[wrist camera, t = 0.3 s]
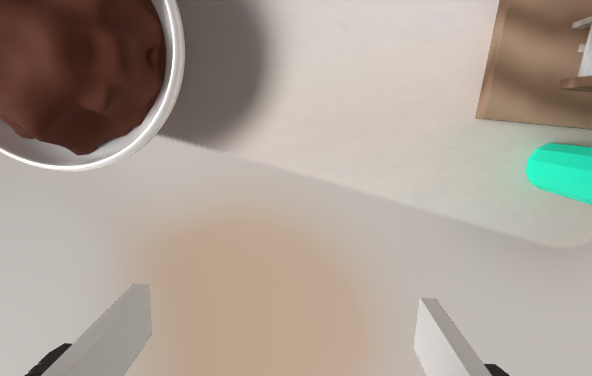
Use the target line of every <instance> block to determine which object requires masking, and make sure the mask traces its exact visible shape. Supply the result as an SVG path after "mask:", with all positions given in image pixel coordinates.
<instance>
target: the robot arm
mask: <svg viewBox="0 0 592 376" xmlns="http://www.w3.org/2000/svg"><path fill="white" fill-rule="evenodd" d="M151 336H152V325H151V309H150V293H149V285H142V284H133V285H132V286H131V287H130V288H129V289H128V290H127V291H126V292H125V293H124V294H123V295H122V296H121V297H120V298H119V299H118V300H117V301H116V302H115V303H114V304H113V305H112V306H111V307H110V308H109V309H108V310H107V311H106V312H105V313H104V314H103V315H102V316H101V317H100V318H99V319H98V320H97V321H96V322H95V323H94V324H93V325H92V326H91V327H90V328H89V329H87V330H86V331H85V333H84V334H82V335H81V336H80V337H79V339H77V341H76V342H74V343H73V344H67V343H66V344H65V343H64V344H63V345H61V346H59V347H58V348H56V349H54V350H53V351H51V352H50V353H48V354H47V355H46V356H45V357H44V358H43V359H42V360H41V361H40V362H39V363H38V365H36V366H34V367H33V368H32V369H31V370H30V371H29V372H28V374H26V375H25V376H124V375H125V373H126V372H127V370H128V369H129V367H130V366H131V364H132V363H133V362H134V360H135V359H136V357H137V356H138V354H139V353H140V352H141V350H142V349H143V347H144V346H145V344H146V343H147V341H148V340H149V338H150V337H151ZM414 350H415V352H416V354H417V356H418V358H419V360H420V363H421V365H422V367H423V369H424V371H425V373H426V375H427V376H509V375H508V374H507V373H506V372H504V371H503V370H502V369H501V368H499V367H498V366H496V365H495V364H483V363H482V361H481V360H480V359H479V357H478V356H477V354H476V353H475V352H474V350H473V349H472V347H471V346H470V345H469V343H468V342H467V340H466V339H465V338H464V336H463V335H462V334H461V332H460V331H459V329H458V328H457V327H456V325H455V324H454V323H453V321H452V320H451V318H450V317H449V316H448V314H447V313H446V312H445V310H444V309H443V307H442V306H441V305H440V303H439V302H438V300H437V299H430V298H420V304H419V311H418V318H417V326H416V333H415V341H414Z"/></svg>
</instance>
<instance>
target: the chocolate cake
mask: <svg viewBox="0 0 592 376" xmlns="http://www.w3.org/2000/svg"><path fill="white" fill-rule="evenodd" d="M184 65H185V40H184V31H183V25H182V20H181V16H180V12H179V9H178V5H177V2H176V0H0V152H2V153H4V154H5V155H7V156H9V157H12V158H14V159H16V160H18V161H21V162H24V163H27V164H30V165H33V166H37V167H40V168H45V169H49V170H56V171H70V172H71V171H86V170H93V169H97V168H101V167H105V166H108V165H110V164H113V163H116V162H119V161H121V160H123V159H125V158H127V157H129V156H131V155H132V154H134V153H135V152H137V151H138V150H140V149H141V148H142V147H143V146H145V145H146V144H147V143H148V142H149V141H150V140H151V139H152V138H153V137H154V136H155V135H156V134H157V133H158V131H159V130H160V129H161V128H162V126H163V125H164V123H165V122H166V120H167V119H168V117H169V115H170V113H171V111H172V109H173V107H174V105H175V103H176V100H177V97H178V95H179V92H180V88H181V84H182V79H183V73H184Z"/></svg>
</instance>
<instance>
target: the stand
mask: <svg viewBox="0 0 592 376" xmlns="http://www.w3.org/2000/svg"><path fill="white" fill-rule="evenodd" d="M476 118H477V119H488V120H498V121H509V122H519V123H530V124H541V125H551V126H562V127H572V128H583V129H592V0H500V2H499V7H498V12H497V16H496V21H495V26H494V31H493V36H492V41H491V46H490V50H489V55H488V60H487V65H486V70H485V75H484V80H483V84H482V89H481V94H480V99H479V104H478V109H477V113H476Z"/></svg>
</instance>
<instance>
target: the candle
mask: <svg viewBox="0 0 592 376" xmlns="http://www.w3.org/2000/svg"><path fill="white" fill-rule="evenodd" d="M526 173H527V176H528V179H529V181H530V183H532V184H533V185H534V186H536V187H537V188H539V189H542V190H545V191H548V192H551V193H555V194H558V195H561V196H564V197H568V198H571V199H574V200H577V201H581V202H584V203H587V204H590V205H592V147H586V146H577V145H568V144H555V143H548V144H546V145H544V146H542V147H540V148H537V149H536V150H535V152H534V153H533V154H532V155H531V156H530V158H529V159H528V163H527V168H526Z"/></svg>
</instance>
